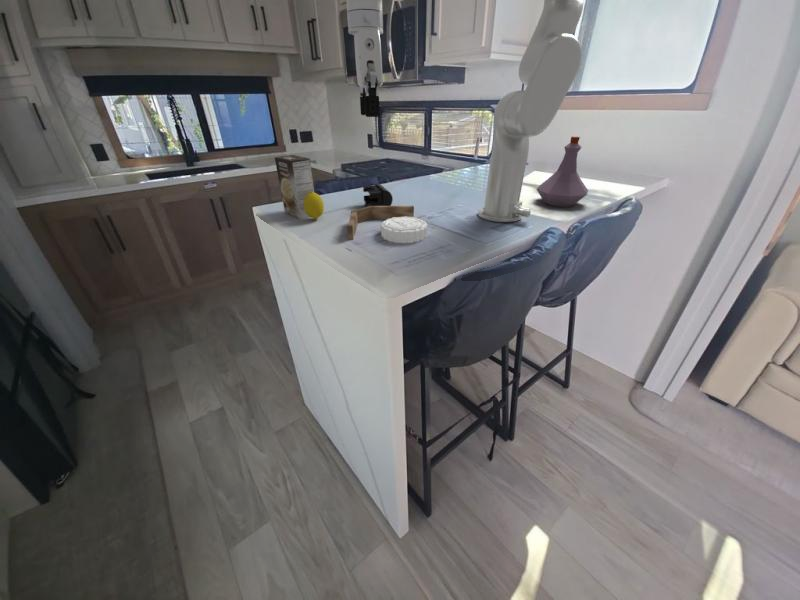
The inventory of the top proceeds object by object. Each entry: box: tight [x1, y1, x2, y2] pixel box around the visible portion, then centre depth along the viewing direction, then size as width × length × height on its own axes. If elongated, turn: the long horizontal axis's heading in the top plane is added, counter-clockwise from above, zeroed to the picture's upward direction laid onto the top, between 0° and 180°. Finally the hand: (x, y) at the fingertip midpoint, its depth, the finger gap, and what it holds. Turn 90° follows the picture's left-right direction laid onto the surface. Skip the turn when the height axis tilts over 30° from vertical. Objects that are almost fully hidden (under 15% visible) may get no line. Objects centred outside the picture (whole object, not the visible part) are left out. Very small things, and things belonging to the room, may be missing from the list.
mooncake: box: [380, 216, 429, 244], centre depth 84 cm, size 12×12×4 cm
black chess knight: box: [362, 182, 394, 207], centre depth 104 cm, size 10×7×7 cm
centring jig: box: [347, 205, 415, 240], centre depth 91 cm, size 10×24×4 cm, turn 136°
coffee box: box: [274, 154, 315, 220], centre depth 96 cm, size 9×6×16 cm
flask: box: [536, 136, 589, 208], centre depth 105 cm, size 16×16×20 cm
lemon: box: [304, 191, 325, 220], centre depth 93 cm, size 6×6×8 cm
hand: (369, 115), depth 79 cm, fingers open, 9 cm apart
